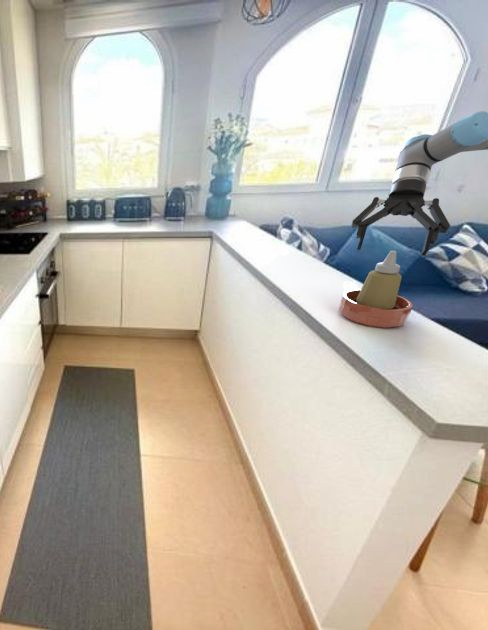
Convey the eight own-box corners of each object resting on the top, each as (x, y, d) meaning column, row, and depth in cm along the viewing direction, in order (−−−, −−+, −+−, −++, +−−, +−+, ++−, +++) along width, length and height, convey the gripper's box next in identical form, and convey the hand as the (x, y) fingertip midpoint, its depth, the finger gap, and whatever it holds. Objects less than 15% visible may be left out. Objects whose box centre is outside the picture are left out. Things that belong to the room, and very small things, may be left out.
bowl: (418, 323, 91) (426, 304, 88) (379, 334, 87) (386, 314, 85) (362, 302, 103) (368, 285, 101) (325, 311, 100) (330, 294, 97)
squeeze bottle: (363, 306, 100) (384, 245, 92) (396, 316, 93) (422, 252, 85) (345, 312, 97) (365, 250, 89) (378, 323, 90) (403, 257, 82)
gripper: (465, 195, 94) (449, 262, 91) (351, 193, 109) (333, 251, 105) (478, 176, 88) (461, 247, 85) (355, 177, 103) (336, 238, 99)
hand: (390, 250), depth 95 cm, fingers open, 13 cm apart
